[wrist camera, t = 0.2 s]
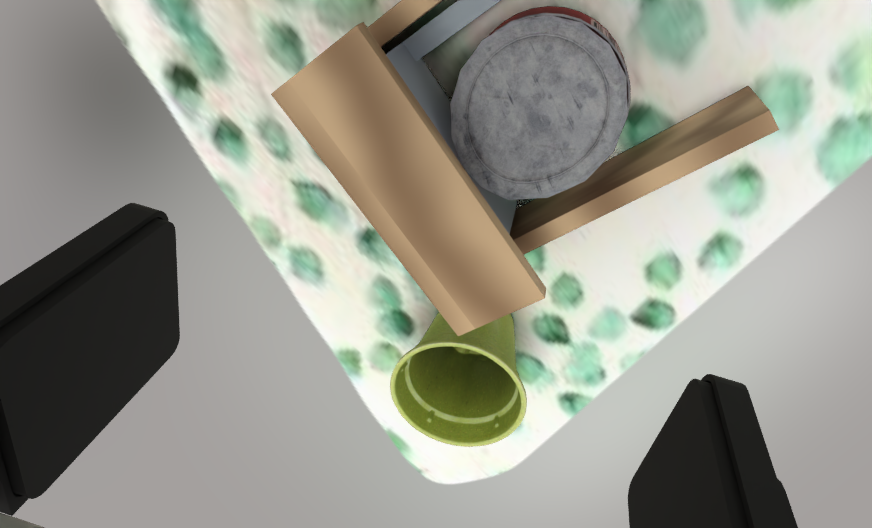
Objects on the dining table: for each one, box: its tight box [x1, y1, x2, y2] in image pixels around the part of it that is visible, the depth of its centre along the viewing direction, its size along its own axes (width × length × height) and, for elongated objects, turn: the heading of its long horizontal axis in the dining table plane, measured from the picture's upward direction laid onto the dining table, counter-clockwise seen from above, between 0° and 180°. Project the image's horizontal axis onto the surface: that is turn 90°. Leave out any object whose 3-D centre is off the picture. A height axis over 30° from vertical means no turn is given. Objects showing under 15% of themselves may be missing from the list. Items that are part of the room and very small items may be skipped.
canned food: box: [450, 6, 630, 200], centre depth 36 cm, size 11×10×10 cm
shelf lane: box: [271, 0, 779, 336], centre depth 33 cm, size 19×16×12 cm
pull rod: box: [386, 0, 517, 234], centre depth 31 cm, size 28×14×7 cm, turn 126°
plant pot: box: [390, 312, 527, 447], centre depth 45 cm, size 9×9×9 cm
